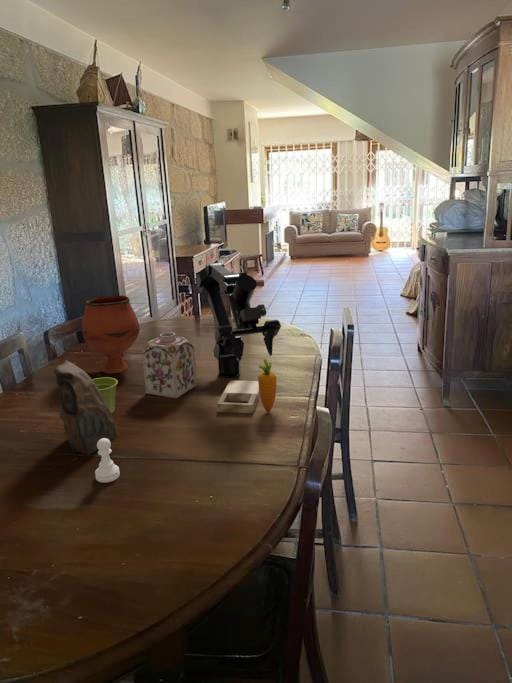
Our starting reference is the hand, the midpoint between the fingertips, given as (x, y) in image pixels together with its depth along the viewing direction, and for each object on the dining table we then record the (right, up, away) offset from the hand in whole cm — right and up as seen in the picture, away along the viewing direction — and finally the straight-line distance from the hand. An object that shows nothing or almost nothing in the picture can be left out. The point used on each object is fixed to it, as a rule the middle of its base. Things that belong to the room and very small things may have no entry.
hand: (256, 357), depth 142 cm
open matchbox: (-4, -13, +6) cm, 14 cm away
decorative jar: (-26, -11, +15) cm, 32 cm away
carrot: (+3, -15, -3) cm, 16 cm away
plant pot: (-43, -16, 0) cm, 46 cm away
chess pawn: (-32, -25, -33) cm, 52 cm away
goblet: (-49, -5, +35) cm, 61 cm away
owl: (-40, -20, -17) cm, 48 cm away
